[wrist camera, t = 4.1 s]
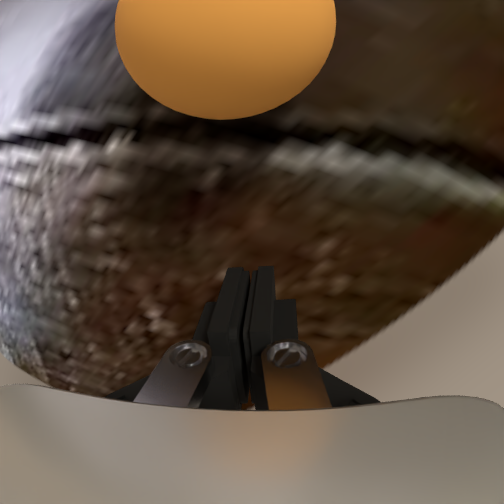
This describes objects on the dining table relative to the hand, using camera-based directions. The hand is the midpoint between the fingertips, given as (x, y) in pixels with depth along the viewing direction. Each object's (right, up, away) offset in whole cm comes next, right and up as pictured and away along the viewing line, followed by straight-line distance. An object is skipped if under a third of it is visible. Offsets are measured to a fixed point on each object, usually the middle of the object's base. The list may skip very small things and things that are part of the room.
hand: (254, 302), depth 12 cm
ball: (-1, +8, -5) cm, 10 cm away
